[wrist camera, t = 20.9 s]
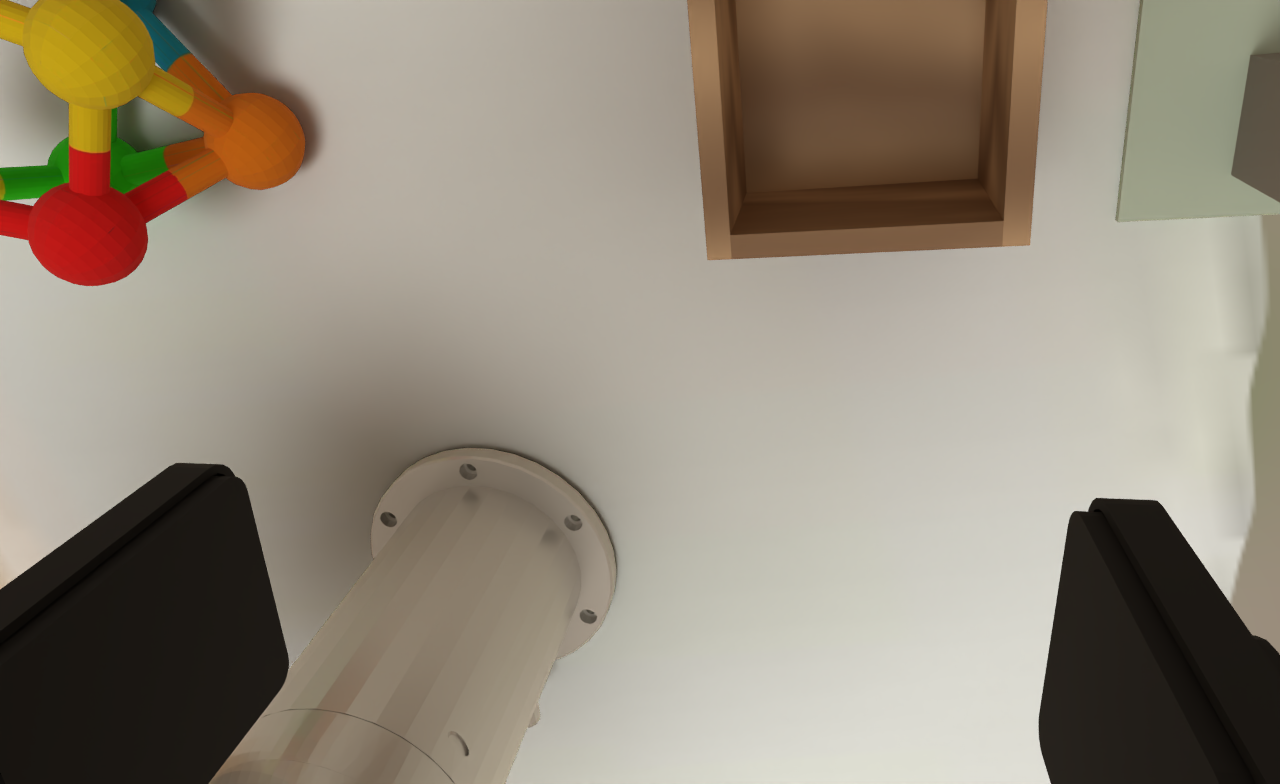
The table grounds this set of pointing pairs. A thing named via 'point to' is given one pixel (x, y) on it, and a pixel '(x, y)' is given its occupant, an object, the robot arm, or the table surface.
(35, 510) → the table surface
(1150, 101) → the lid
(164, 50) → the molecular model
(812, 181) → the brown wooden open box
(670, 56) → the table surface
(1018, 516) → the table surface
